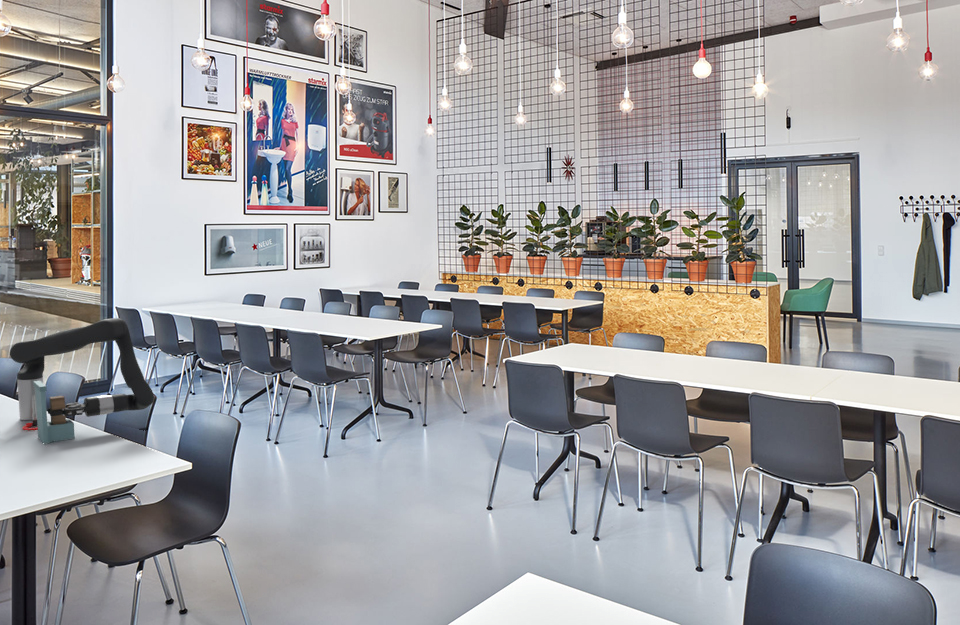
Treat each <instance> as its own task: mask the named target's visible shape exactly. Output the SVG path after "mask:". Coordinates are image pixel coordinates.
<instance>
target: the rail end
mask: <svg viewBox="0 0 960 625" xmlns="http://www.w3.org/2000/svg"><path fill="white" fill-rule="evenodd" d="M65 404H66V399H65V396H64V395H58V396H57V395H56V396H49V408H50V411H51V410H57V409H61V410H62V409H63V408H66V407H65ZM66 417H67V416H65V415H64V416H63V415H58V416H50V421H51V425H56V424H63V423H66V419H67V418H66Z"/></svg>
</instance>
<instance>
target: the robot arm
mask: <svg viewBox="0 0 960 625" xmlns="http://www.w3.org/2000/svg"><path fill="white" fill-rule="evenodd" d="M129 330H130V329H129V327H128V324H127V322H126V321H125V320H124V319H122V318H119V317H115V318H114V317H113V318H105V319H102V320H99V321H96V322H93V323H92V324H91V323H90V324H89V325H86V326H82V327H74V328H70V329H69V328H68V329H66V330H61V331H58V332H55V333H52V334H48V335H45V336H44V337H40V338H38V339H29V340H23V341H19V342H16V343H14V344H13V345H12V346H11V348H10V350H9V357H10V359H12V361H13V362H15V363H18V364H24V365H23V367H22V368H21V369H20V370H19V371H17V373H16V378H17V392H18V395H17V396H18V409H19V420H20V421H32V419H33V416H32V414H33V407H32V395H34V397H35V402H36V393H35V387H34V384H33V381H41V382H42V383H43V384H44V377H43V376H44V372H45V357H47V356H48V357H49V356H54V355H61V354H68V353H72V352H76V351H78V350H80V349H83V348H84V347H86V346H88V345H91V344H96V343H102V342H106V343H107V342H115V343H116V346H117V347H118V350H119V368H120V372H121V375H122V377H123V379H124V382H125V384H126V386H127V387H128V389H130V390H131V392H132V394H126V393H117V394H111V395H110V394H107V395H97V396H90V397H85V398H84V399H83V403H80V402H70V403H65V408H63V409H62V410H61V409H57V410H51V411H50V407H49V408H47V414H48V415H49V416H50V417H51V416H58V415H63V416H64V415H65V416H66V417H71V416H82V415H83V413H84V415H85V417H88V418H89V417H97V416H103V415H109V414H111V413H112V414H113V413H118V412H119V413H120V412H124V411H125V412H126V411H140V410H146V409H147V408H148V407H150V406H151V405H152V404H153V403H154V400H155V395H154V392H153V390H152V388H151V386H150V385H149V384H148V382H147V381H146V379H145V376H144V374H143V372H142V370H141V368H140V365H139V363H138V359H137V356H136V353H135V350H134V347H133V346H134V345H133V342H132V338H131V333H130V331H129ZM36 413H37V409H36Z"/></svg>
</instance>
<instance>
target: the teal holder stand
mask: <svg viewBox="0 0 960 625" xmlns="http://www.w3.org/2000/svg"><path fill="white" fill-rule="evenodd" d="M33 384H34V387H35V393H36V409H37V424H38V426H37V427H38V430H37V437H39V438H40V439H39V438H38V439H39V440H40V442H41V443H42V442H43V443H44V444H43V443H42V444H43V445H46V443H52V442H51V441H54V442H59V441H58V440H60V441H65V440H64V439H66V440H70V438H73V439H75V438H76V437H75V436H76V435H75V423H74V422H73V420H72V419H70V418H66V423H63V424H56V425H51V420H50V421H48V415H47V414H48V409H47V397H46V392H47V391H48V388H47V385H46V384H45V383H44V382H43V383H42V382H41V381H33Z"/></svg>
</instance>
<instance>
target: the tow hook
mask: <svg viewBox="0 0 960 625" xmlns="http://www.w3.org/2000/svg"><path fill="white" fill-rule="evenodd" d="M32 407H33V414H32V416H33V419H32V420H31V422H26V423H25V425H24V426H22V431H25V430H33V431H38V426H36V425H38V424H37V413H36V402H35V397H34V395H32Z"/></svg>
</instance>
